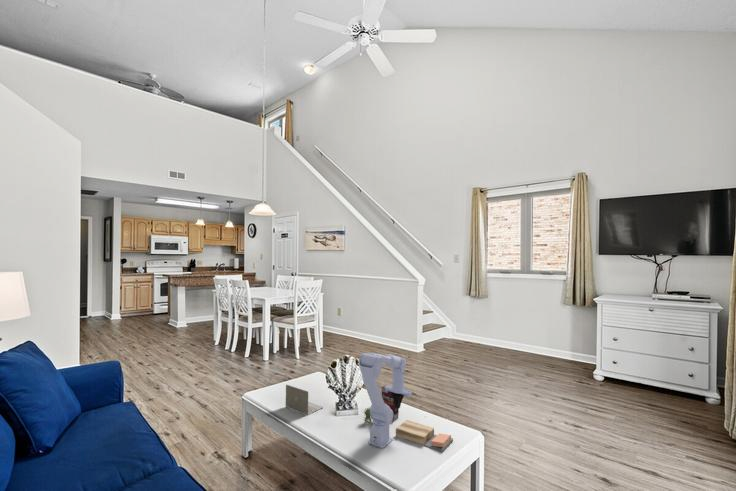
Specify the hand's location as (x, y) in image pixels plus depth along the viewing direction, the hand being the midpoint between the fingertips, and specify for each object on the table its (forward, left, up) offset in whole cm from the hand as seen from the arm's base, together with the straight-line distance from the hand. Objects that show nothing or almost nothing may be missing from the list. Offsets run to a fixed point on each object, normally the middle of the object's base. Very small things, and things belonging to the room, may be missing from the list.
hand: (397, 407), depth 186 cm
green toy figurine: (-3, +16, -11) cm, 19 cm away
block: (-1, -24, -8) cm, 25 cm away
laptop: (-9, +56, -11) cm, 58 cm away
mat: (-1, -23, -10) cm, 25 cm away
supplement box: (+9, +10, -11) cm, 17 cm away
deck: (-1, -10, -10) cm, 15 cm away
